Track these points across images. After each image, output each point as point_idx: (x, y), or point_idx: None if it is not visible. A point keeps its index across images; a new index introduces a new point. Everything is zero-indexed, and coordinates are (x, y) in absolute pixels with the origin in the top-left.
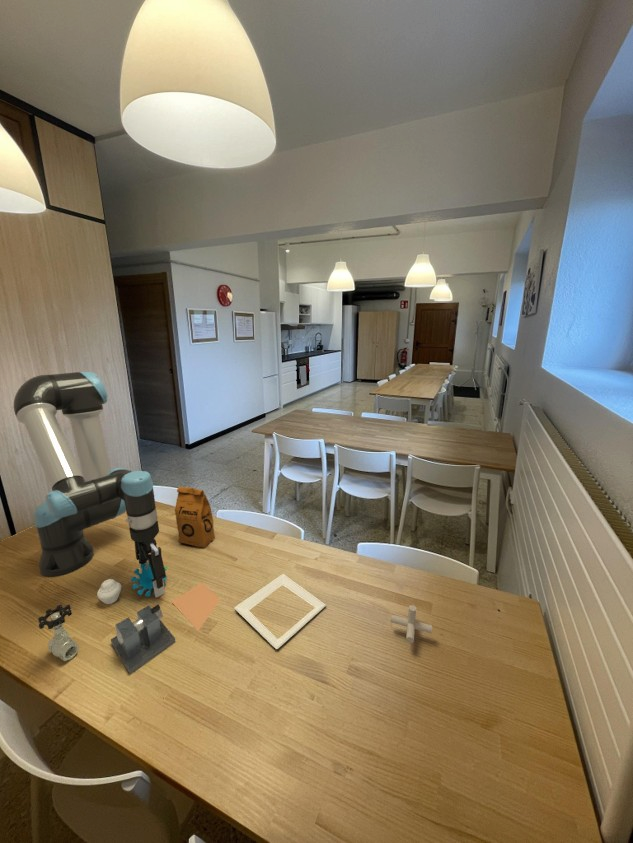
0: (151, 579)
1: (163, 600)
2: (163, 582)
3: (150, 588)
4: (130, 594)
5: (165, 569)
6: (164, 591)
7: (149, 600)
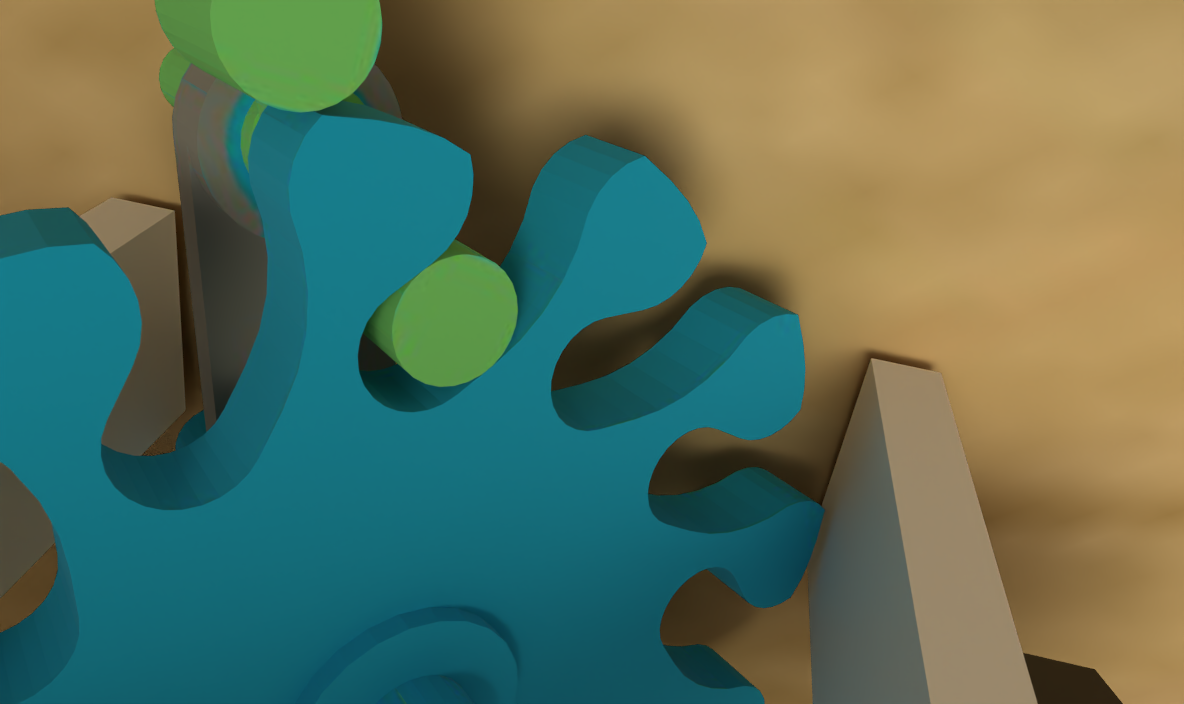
0: (479, 691)
1: (1088, 519)
2: (1006, 619)
3: (652, 688)
4: None
5: (356, 79)
6: (940, 406)
7: (764, 629)
